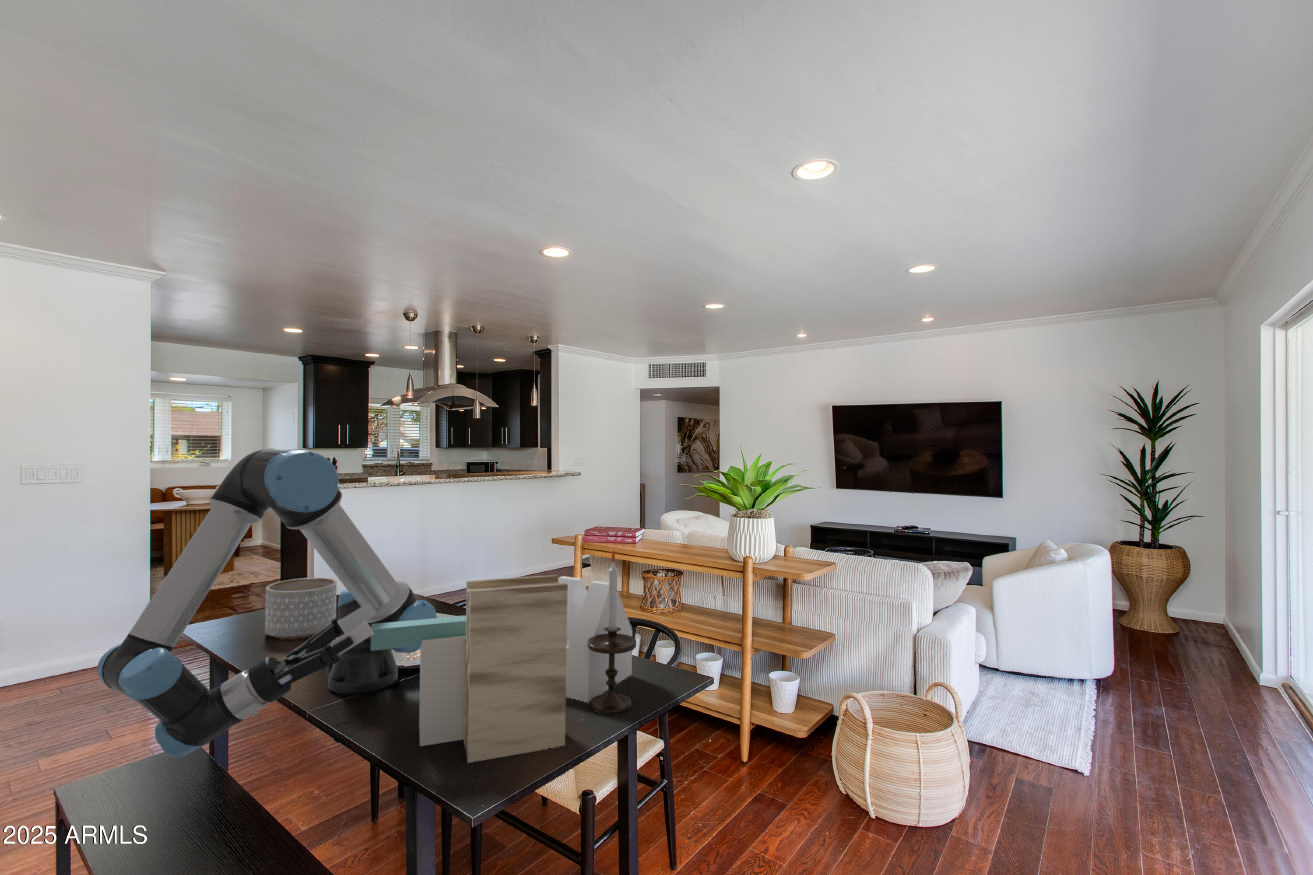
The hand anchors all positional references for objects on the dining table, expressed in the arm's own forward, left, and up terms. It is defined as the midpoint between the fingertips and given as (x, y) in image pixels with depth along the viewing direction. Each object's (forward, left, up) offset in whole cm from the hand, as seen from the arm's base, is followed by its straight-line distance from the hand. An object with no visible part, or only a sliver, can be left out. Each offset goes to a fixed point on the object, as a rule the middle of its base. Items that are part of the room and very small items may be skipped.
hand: (371, 617), depth 119 cm
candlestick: (-1, +49, -25) cm, 55 cm away
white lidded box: (0, +18, -24) cm, 30 cm away
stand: (+9, +26, -24) cm, 37 cm away
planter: (-83, -23, -25) cm, 89 cm away
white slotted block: (-16, +47, -25) cm, 56 cm away
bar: (0, +15, -6) cm, 16 cm away
